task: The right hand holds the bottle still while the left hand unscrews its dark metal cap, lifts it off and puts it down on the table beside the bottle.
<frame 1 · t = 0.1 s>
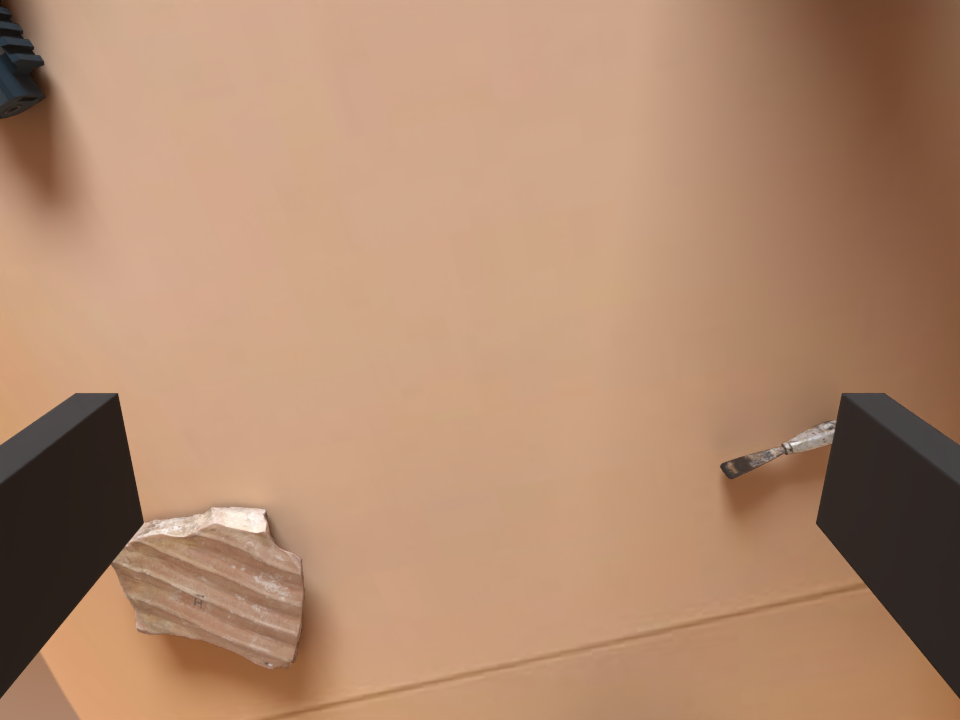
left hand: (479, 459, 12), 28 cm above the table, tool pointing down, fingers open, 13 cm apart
stone: (229, 582, 48), on the table
putty knife: (777, 443, 44), on the table
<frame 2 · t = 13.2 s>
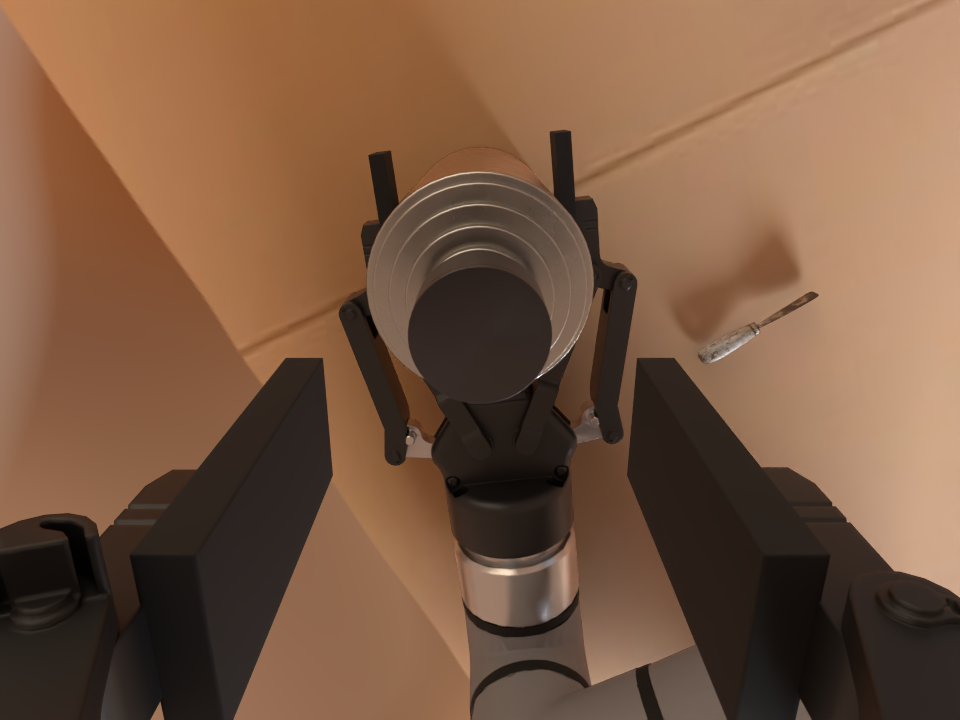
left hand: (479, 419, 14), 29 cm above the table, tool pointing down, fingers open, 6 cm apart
right hand: (469, 142, 34), fingers closed on bottle, 8 cm apart
putty knife: (750, 321, 44), on the table
bottle: (480, 217, 41), on the table, touching right hand
cap: (480, 334, 20), point 23 cm above the table, screwed on, not yet turned
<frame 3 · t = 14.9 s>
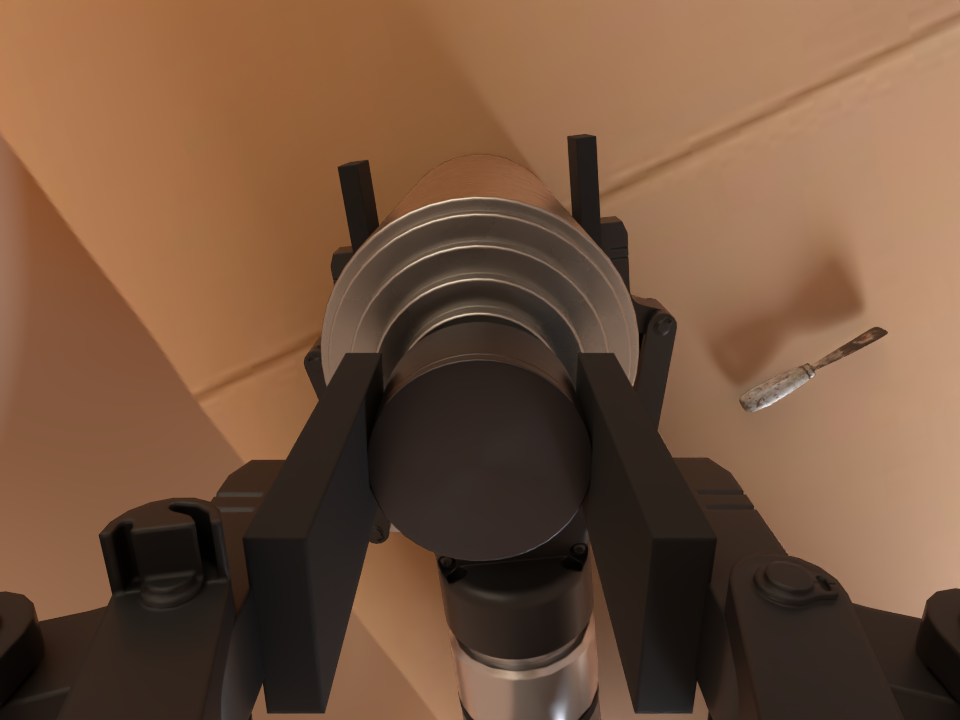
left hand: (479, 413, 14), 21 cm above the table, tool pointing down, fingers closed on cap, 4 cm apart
putty knife: (802, 361, 37), on the table
bottle: (480, 239, 34), on the table, touching right hand
cap: (479, 458, 13), point 23 cm above the table, screwed on, not yet turned, touching left hand
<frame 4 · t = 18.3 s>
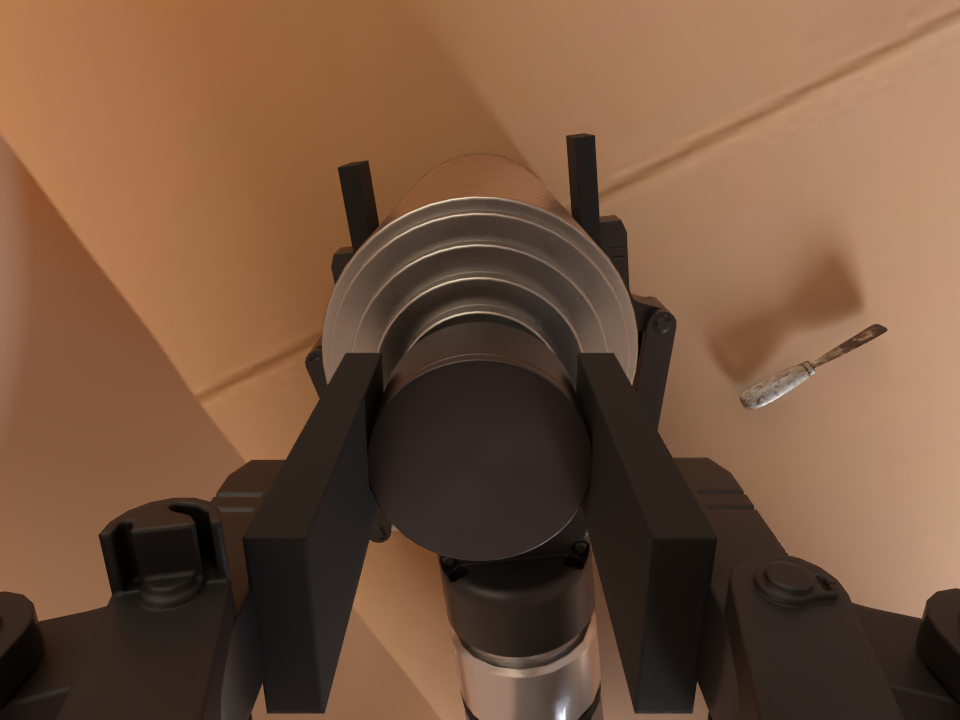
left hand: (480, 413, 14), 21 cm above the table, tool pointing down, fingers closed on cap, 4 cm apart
putty knife: (802, 359, 37), on the table
bottle: (480, 238, 34), on the table, touching right hand
cap: (479, 458, 13), point 23 cm above the table, turned 106° so far, risen 0.1 cm, still on its thread, touching left hand
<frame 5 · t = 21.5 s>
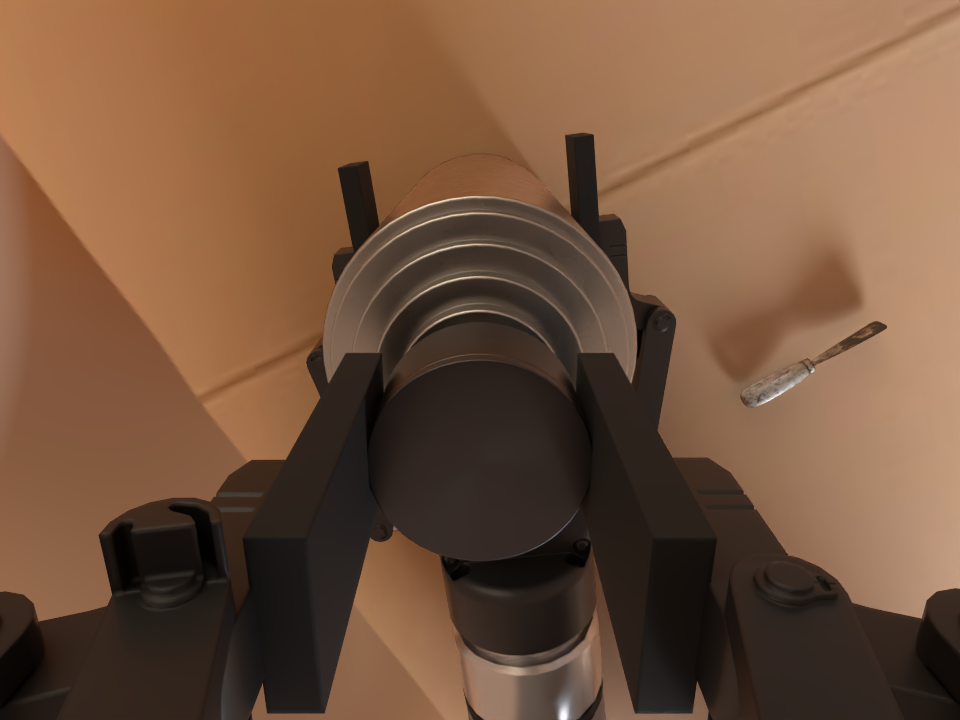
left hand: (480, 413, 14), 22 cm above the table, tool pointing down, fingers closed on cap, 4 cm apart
putty knife: (802, 356, 37), on the table
bottle: (480, 238, 35), on the table, touching right hand
cap: (479, 458, 13), point 24 cm above the table, turned 211° so far, risen 0.2 cm, still on its thread, touching left hand
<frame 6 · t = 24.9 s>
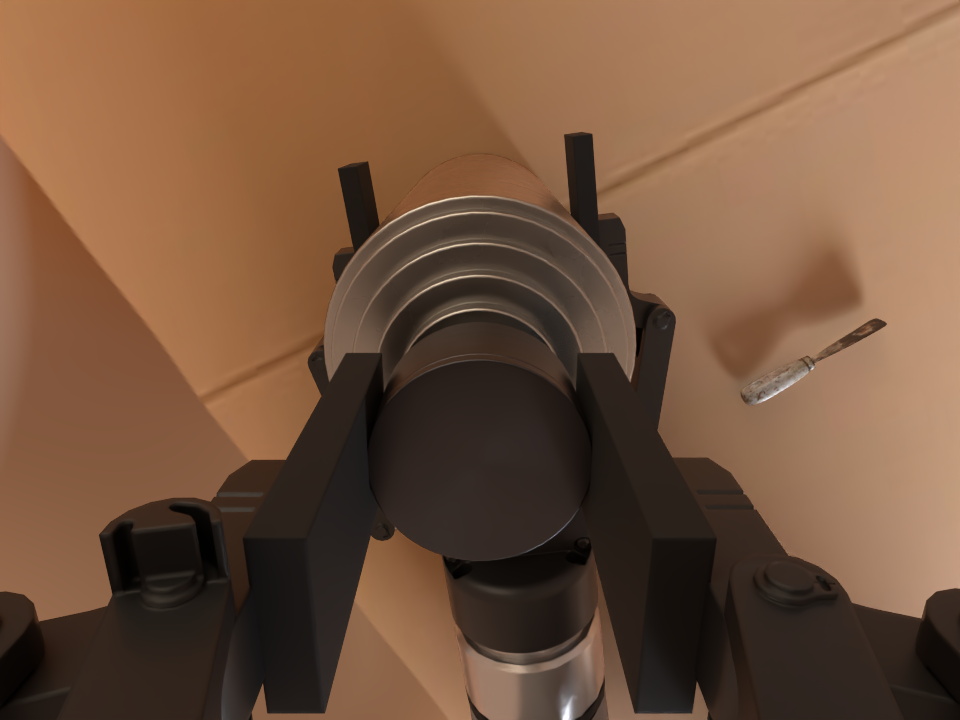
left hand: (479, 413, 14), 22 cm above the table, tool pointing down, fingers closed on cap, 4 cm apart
putty knife: (802, 354, 37), on the table
bottle: (480, 238, 35), on the table, touching right hand
cap: (479, 458, 13), point 24 cm above the table, turned 317° so far, risen 0.3 cm, still on its thread, touching left hand
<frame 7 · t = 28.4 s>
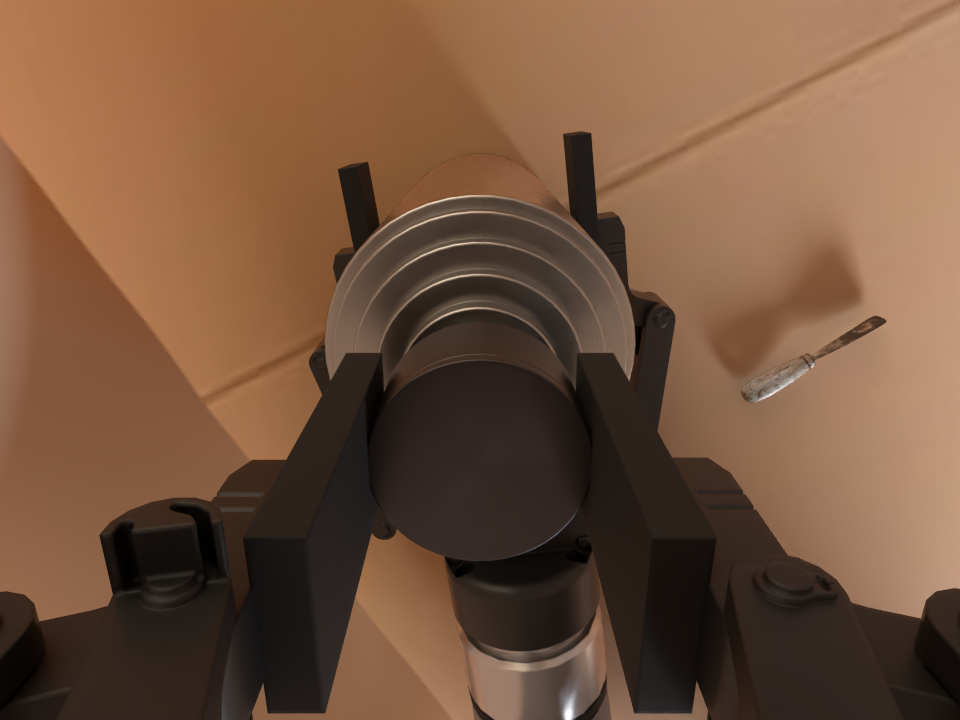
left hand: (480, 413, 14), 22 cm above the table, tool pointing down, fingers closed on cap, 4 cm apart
putty knife: (802, 351, 37), on the table
bottle: (480, 237, 35), on the table, touching right hand
cap: (479, 458, 13), point 24 cm above the table, turned 423° so far, risen 0.5 cm, still on its thread, touching left hand
when the left hand's fingers open (1 cm above the table, at t = 35.4 s): cap drops 1 cm, point 2 cm above the table.
when the right hand's fingers open (7 cm above the table, at t = 36.7 s): bottle stays where it is, on the table.
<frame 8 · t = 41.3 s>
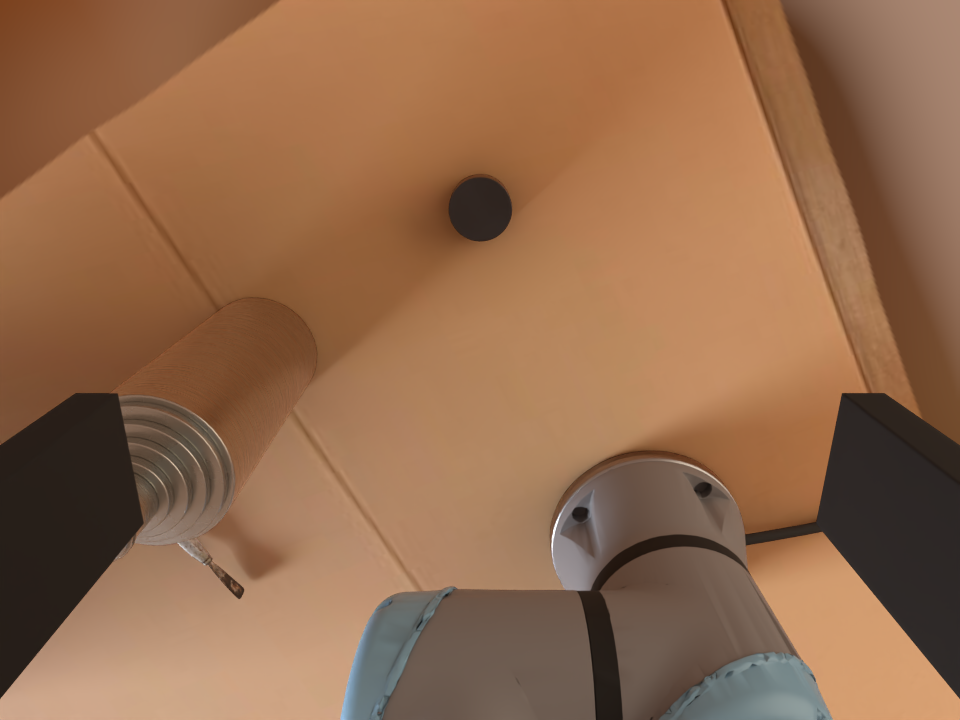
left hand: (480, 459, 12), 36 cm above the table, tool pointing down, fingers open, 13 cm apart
putty knife: (214, 554, 56), on the table
bottle: (260, 352, 50), on the table
cap: (480, 209, 44), point 2 cm above the table, off its thread
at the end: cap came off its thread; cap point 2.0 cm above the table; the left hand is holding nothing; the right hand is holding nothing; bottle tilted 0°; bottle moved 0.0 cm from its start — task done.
